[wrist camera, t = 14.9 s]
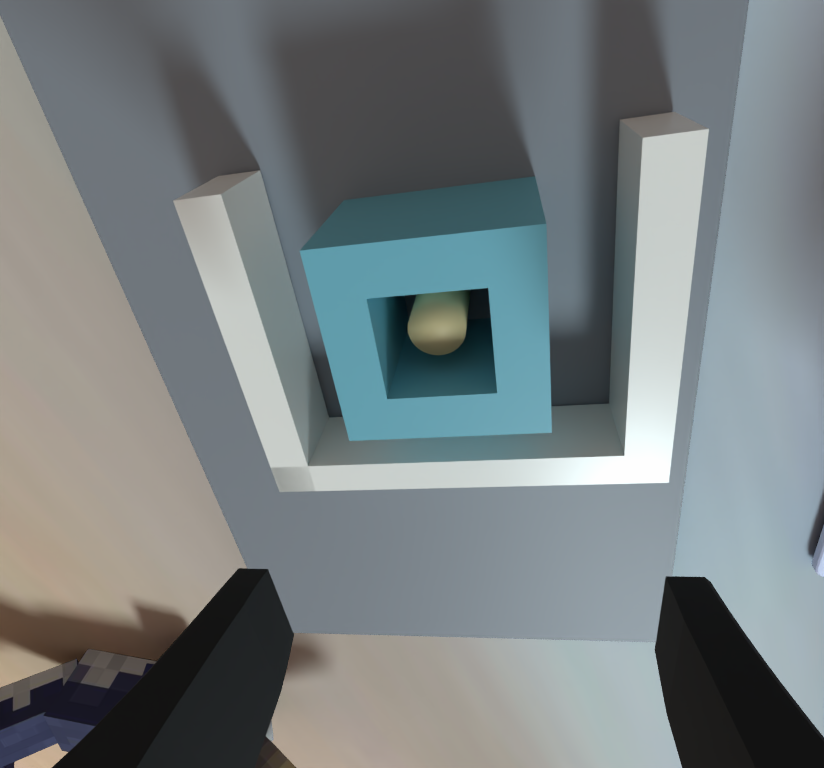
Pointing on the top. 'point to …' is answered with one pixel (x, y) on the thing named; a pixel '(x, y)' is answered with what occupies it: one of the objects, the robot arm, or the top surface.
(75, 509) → the top surface
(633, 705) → the top surface
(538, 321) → the blue square hollow block
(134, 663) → the toy
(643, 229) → the white u-shaped piece
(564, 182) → the board
